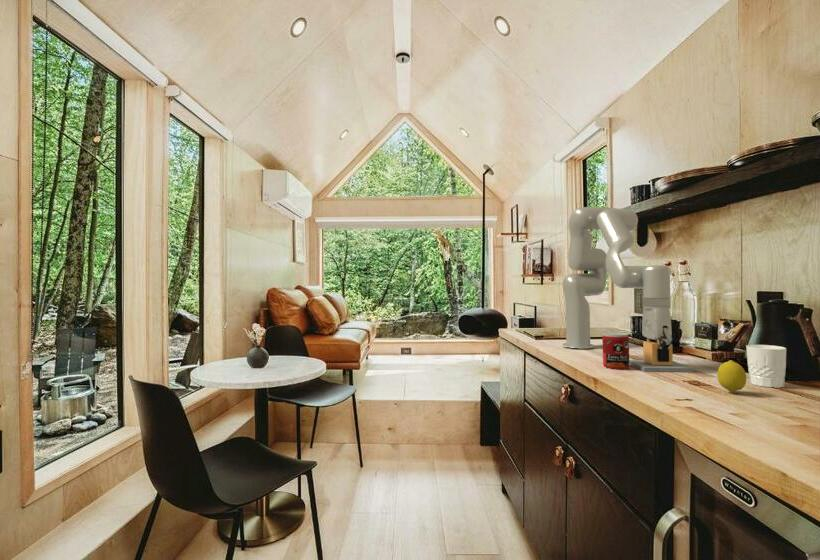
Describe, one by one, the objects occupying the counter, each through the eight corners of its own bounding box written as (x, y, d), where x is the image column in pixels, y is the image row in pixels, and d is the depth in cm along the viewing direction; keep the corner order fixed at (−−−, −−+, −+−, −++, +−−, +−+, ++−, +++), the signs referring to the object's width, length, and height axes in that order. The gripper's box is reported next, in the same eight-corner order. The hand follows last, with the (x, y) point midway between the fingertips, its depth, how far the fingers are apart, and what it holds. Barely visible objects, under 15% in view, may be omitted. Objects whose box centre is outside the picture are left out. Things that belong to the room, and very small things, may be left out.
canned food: (605, 369, 126) (604, 334, 126) (601, 364, 134) (600, 331, 134) (632, 370, 124) (631, 335, 124) (626, 365, 131) (625, 332, 132)
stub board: (626, 363, 135) (626, 345, 135) (671, 363, 133) (670, 345, 133) (644, 371, 122) (644, 352, 122) (693, 372, 120) (693, 352, 120)
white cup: (794, 386, 102) (793, 347, 102) (776, 390, 99) (775, 350, 99) (758, 380, 110) (757, 343, 110) (740, 383, 107) (739, 345, 107)
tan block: (643, 361, 131) (643, 341, 131) (662, 361, 130) (662, 341, 130) (652, 364, 125) (651, 344, 125) (672, 365, 124) (672, 344, 124)
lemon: (752, 396, 94) (751, 362, 94) (725, 395, 95) (724, 362, 95) (738, 390, 99) (737, 358, 100) (713, 389, 101) (712, 358, 101)
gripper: (632, 302, 137) (633, 354, 137) (657, 305, 120) (658, 364, 119) (655, 302, 136) (657, 354, 136) (684, 304, 119) (685, 365, 118)
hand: (657, 359), depth 128 cm, fingers closed on tan block, 6 cm apart
